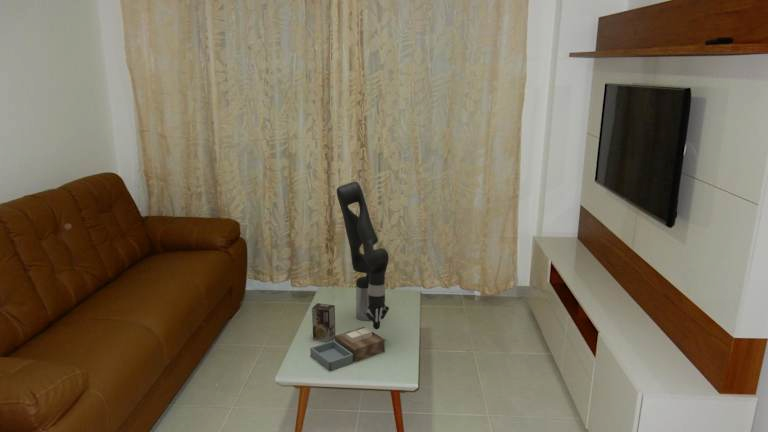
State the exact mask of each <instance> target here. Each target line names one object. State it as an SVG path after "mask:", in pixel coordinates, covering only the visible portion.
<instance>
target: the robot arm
mask: <svg viewBox="0 0 768 432" xmlns="http://www.w3.org/2000/svg"><path fill="white" fill-rule="evenodd" d="M363 192H364V191H363V190H362V187H361V185H360V184H359V183H358V181H352V182H349V183H346V184H343V185H340V186H338V187H337V188H336V196H337V200H338V203H339V206H340V210H341V213H342V217H343V222H344V227H345V232H346V236H347V241H348V245H349V249H350V257H351V266H352V268H353V271H355V272H357V273H362V274H366V275H365V276H362V277H361V276H360V277H359V278H356V280H355V294H356V295H355V301H356V303H355V306H356V308H355V310H356V311H355V312H356V319H357V320H359V321H363V322H367V321H371V322H372V324H373V325H372V327H373V328H374V329H375V330H379V329H380V328H381V320H384V319H385V317H386V315H387V313H388V311H389V310H390V307H389V306H388V305H386V285H385V284H386V283H385V280H386V279H385V274H386V271H387V269H388V264H389V260H390V259H389V258H390V257H389V253H388V251H387V250H386V249H385V248H377V249H374V245H376V244H378V243H379V239H378V236H377V233H376V231H375V229H374V225H373V224H372V220H371V218H370V217H371V216H370V214H369V209H368V205H367V202H366V199H365V196H364V193H363ZM355 203H358V206H359V214H358V215H357V214H356V213H354V212H353V211H352V210H351V209H350V208H349V206H350V205H353V204H355ZM361 247H362V248H363V249H362V250H363V253H361V250H360V249H361Z"/></svg>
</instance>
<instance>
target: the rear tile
mask: <svg viewBox="0 0 768 432" xmlns="http://www.w3.org/2000/svg"><path fill="white" fill-rule="evenodd" d="M356 331H357V332H358V333H360V334H361V335H362V340H364V339H367V338H370V337H372V332H373V331H372V330H370V329H369V328H367V327H365V328H363V329H360V330H356Z"/></svg>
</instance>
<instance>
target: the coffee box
mask: <svg viewBox="0 0 768 432" xmlns="http://www.w3.org/2000/svg"><path fill="white" fill-rule="evenodd" d="M335 307H336V305H333V304H327V303H318V302H317V303H316V304H315V305H314V306H313V307H311V323H312V340H313V341H318V342H323V343H327V342H330V341H333V340H335V336H336V312H335V309H336V308H335Z"/></svg>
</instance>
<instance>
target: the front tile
mask: <svg viewBox="0 0 768 432" xmlns="http://www.w3.org/2000/svg"><path fill="white" fill-rule="evenodd" d="M346 339H347V340H348V341H350V342H351V343H355V342H358V341H361V340H362V335H361V334H360V333H358V332H357V331H353V332H350V333H347V334H346Z"/></svg>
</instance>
